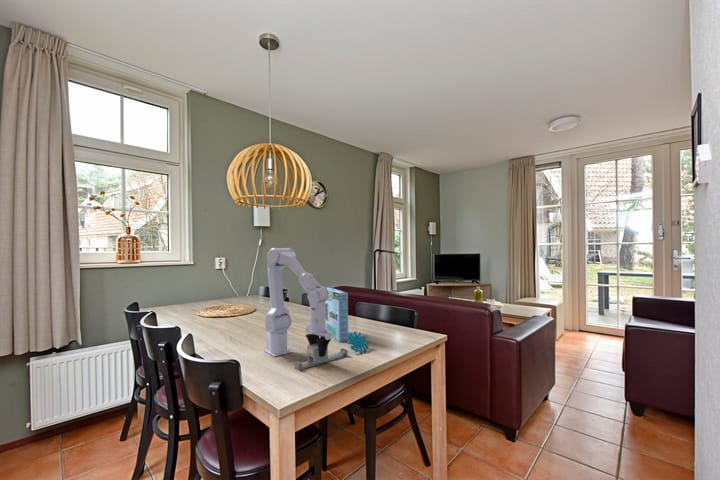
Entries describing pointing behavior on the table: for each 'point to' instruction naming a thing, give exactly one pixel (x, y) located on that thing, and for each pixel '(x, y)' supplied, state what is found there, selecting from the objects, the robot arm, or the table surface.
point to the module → (315, 354)
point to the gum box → (337, 314)
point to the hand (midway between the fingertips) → (318, 354)
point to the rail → (310, 363)
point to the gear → (358, 342)
